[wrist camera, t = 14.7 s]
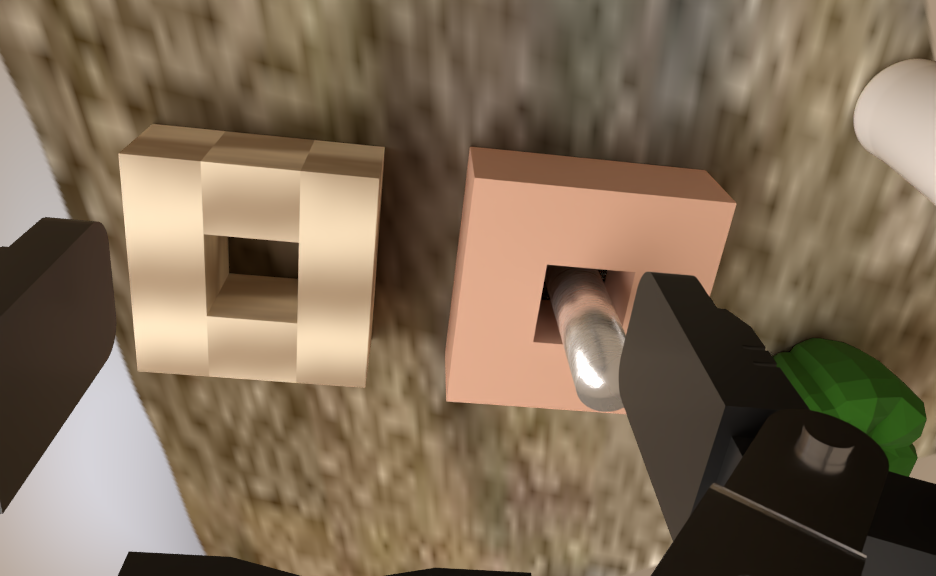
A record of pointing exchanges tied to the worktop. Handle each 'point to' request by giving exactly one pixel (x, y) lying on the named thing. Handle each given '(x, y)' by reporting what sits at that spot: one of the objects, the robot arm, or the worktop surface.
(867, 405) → the bell pepper
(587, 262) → the dock block
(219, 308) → the mount block
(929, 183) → the drinking glass
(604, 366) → the lock pin
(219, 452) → the worktop surface
